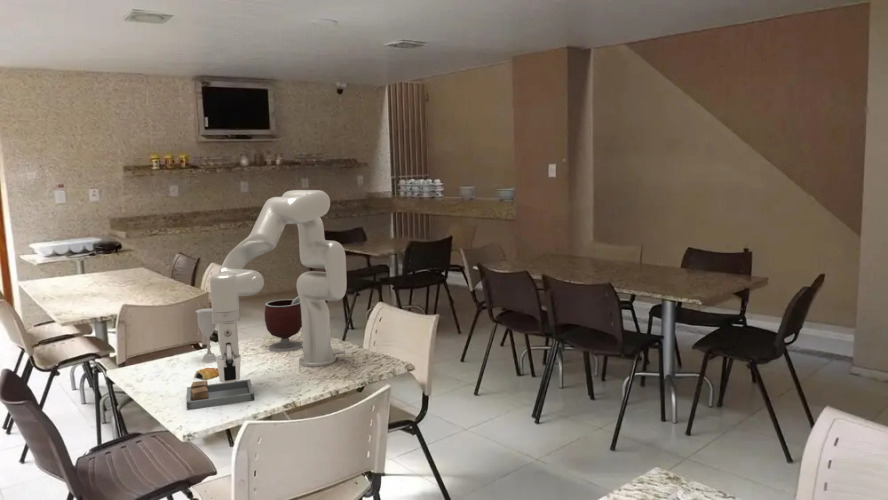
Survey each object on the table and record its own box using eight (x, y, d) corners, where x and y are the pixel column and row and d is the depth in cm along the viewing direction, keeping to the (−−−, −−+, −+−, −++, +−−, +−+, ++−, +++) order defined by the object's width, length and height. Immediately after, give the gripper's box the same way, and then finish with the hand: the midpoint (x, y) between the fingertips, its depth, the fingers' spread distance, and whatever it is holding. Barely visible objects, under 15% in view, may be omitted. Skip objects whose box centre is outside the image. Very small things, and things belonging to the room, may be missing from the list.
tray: (250, 388, 200) (250, 379, 199) (254, 403, 187) (254, 393, 186) (187, 397, 193) (186, 387, 193) (187, 413, 180) (186, 402, 180)
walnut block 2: (206, 399, 188) (205, 386, 187) (209, 403, 185) (208, 390, 184) (191, 402, 186) (190, 389, 185) (194, 406, 182) (193, 393, 182)
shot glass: (234, 383, 186) (233, 359, 185) (212, 382, 188) (211, 359, 187) (246, 376, 193) (245, 353, 192) (225, 375, 194) (223, 352, 193)
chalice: (224, 359, 232) (221, 309, 230) (208, 364, 226) (204, 313, 224) (210, 356, 236) (207, 307, 234) (194, 361, 230) (191, 311, 228)
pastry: (217, 373, 217) (216, 362, 216) (230, 376, 213) (229, 365, 212) (192, 381, 209) (191, 369, 209) (205, 384, 205) (204, 373, 205)
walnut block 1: (208, 393, 193) (207, 380, 193) (206, 398, 189) (205, 384, 189) (193, 394, 192) (193, 381, 192) (191, 399, 188) (190, 386, 188)
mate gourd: (270, 354, 237) (266, 300, 235) (263, 345, 250) (260, 294, 247) (312, 348, 243) (309, 296, 241) (304, 340, 256) (301, 290, 253)
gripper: (241, 321, 181) (245, 383, 184) (237, 309, 197) (241, 367, 200) (213, 323, 179) (217, 387, 181) (211, 311, 195) (215, 370, 197)
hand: (229, 376), depth 190 cm, fingers closed on shot glass, 6 cm apart
